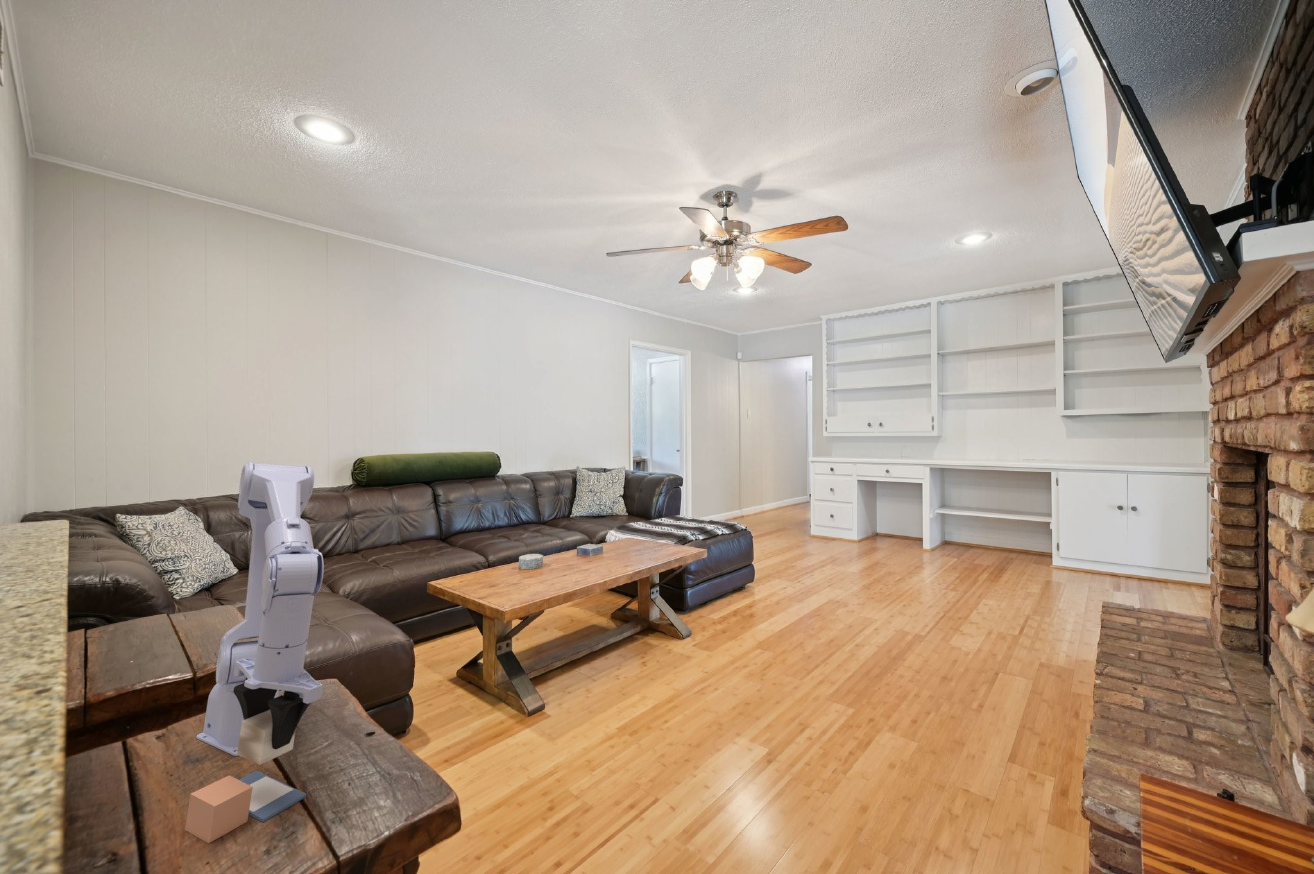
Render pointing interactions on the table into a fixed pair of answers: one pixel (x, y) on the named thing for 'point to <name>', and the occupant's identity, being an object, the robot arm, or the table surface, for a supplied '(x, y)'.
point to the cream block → (259, 739)
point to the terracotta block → (218, 808)
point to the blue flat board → (269, 796)
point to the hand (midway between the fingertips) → (268, 739)
